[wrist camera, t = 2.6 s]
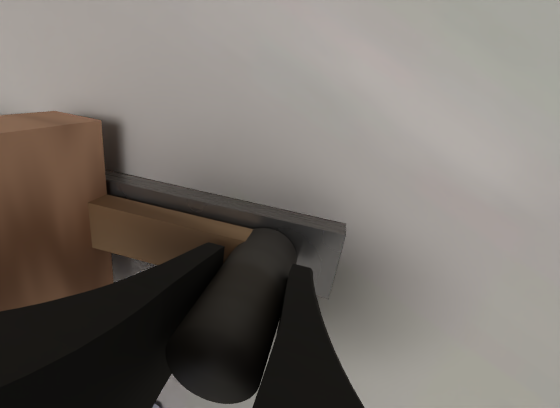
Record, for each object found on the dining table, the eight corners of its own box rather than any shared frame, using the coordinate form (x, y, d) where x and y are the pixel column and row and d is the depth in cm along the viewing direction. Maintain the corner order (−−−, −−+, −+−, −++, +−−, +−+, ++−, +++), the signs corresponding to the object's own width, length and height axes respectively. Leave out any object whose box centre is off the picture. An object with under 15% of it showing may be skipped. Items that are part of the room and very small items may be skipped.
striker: (280, 339, 13) (242, 479, 8) (77, 280, 15) (-53, 373, 10) (316, 163, 10) (288, 229, 5) (55, 111, 12) (-150, 126, 7)
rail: (329, 284, 13) (328, 299, 12) (107, 227, 15) (91, 236, 14) (345, 223, 12) (345, 235, 11) (102, 168, 14) (85, 175, 13)
